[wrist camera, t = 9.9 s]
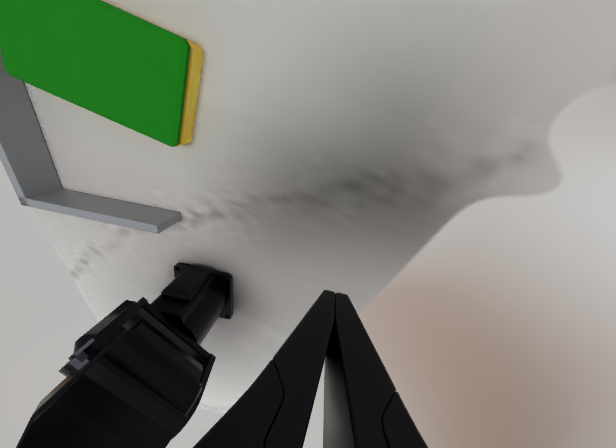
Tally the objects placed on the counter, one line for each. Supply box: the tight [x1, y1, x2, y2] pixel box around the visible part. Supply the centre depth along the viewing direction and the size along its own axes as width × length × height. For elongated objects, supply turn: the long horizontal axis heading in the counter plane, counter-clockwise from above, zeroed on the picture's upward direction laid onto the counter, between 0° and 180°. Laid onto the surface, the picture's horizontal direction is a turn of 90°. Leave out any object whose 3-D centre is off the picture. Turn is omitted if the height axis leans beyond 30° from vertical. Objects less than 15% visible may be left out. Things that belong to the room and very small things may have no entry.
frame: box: [0, 49, 181, 234], centre depth 17 cm, size 23×14×3 cm, turn 172°
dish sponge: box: [0, 0, 204, 147], centre depth 17 cm, size 7×14×2 cm, turn 68°
